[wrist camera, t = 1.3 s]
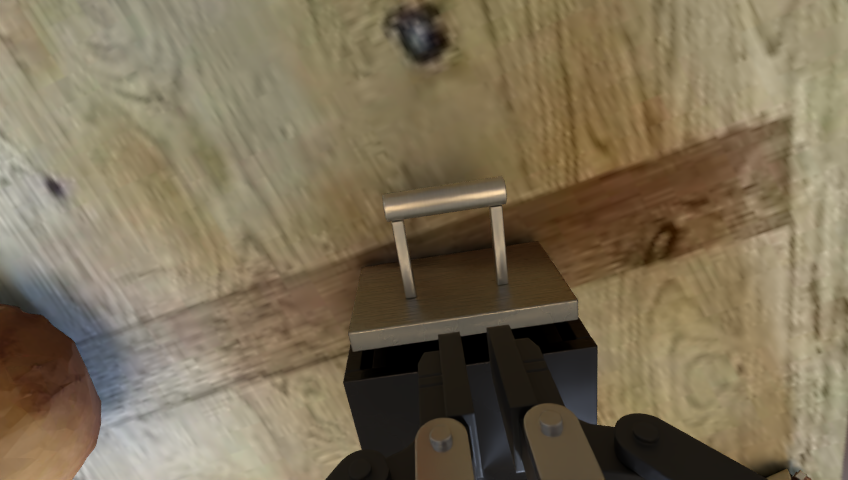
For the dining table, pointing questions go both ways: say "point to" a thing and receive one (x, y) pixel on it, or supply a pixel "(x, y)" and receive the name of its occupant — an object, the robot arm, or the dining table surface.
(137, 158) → the dining table surface
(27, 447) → the butternut squash
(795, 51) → the dining table surface
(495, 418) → the black rectangular box
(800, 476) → the taco
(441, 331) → the wooden drawer
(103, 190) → the dining table surface
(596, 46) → the dining table surface
